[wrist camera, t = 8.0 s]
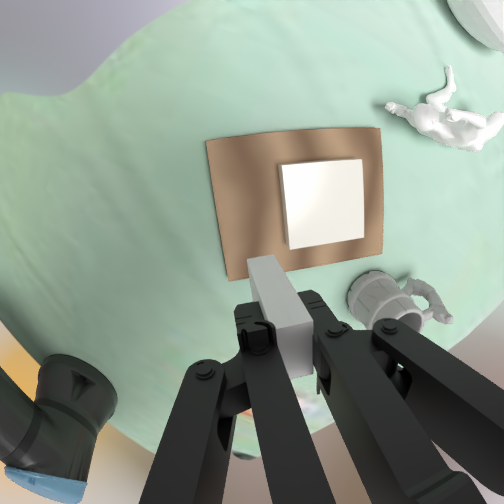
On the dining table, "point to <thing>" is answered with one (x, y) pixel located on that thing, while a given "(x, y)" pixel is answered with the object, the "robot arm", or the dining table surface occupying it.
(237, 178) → the board
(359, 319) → the mug
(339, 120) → the dining table surface
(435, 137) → the person figurine
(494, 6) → the vase
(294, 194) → the tile
